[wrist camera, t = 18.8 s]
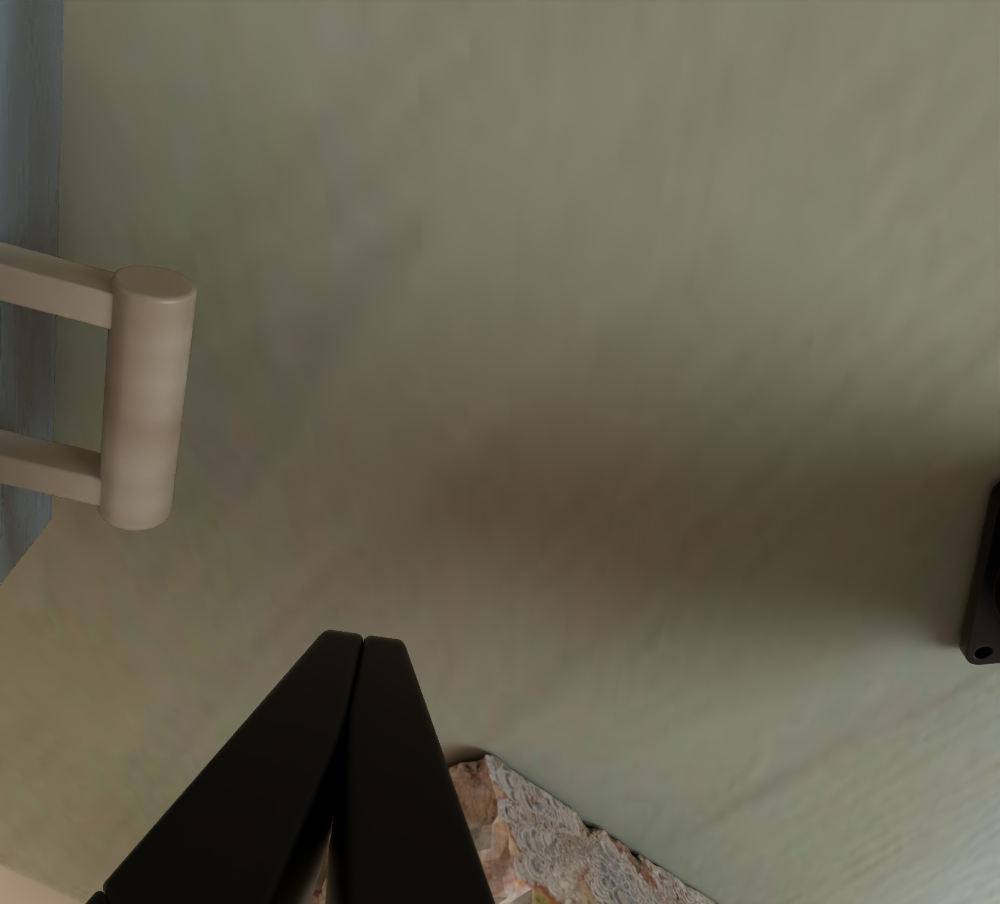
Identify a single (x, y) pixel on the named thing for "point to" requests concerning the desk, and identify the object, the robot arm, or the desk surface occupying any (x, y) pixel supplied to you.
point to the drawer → (79, 296)
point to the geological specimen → (549, 847)
